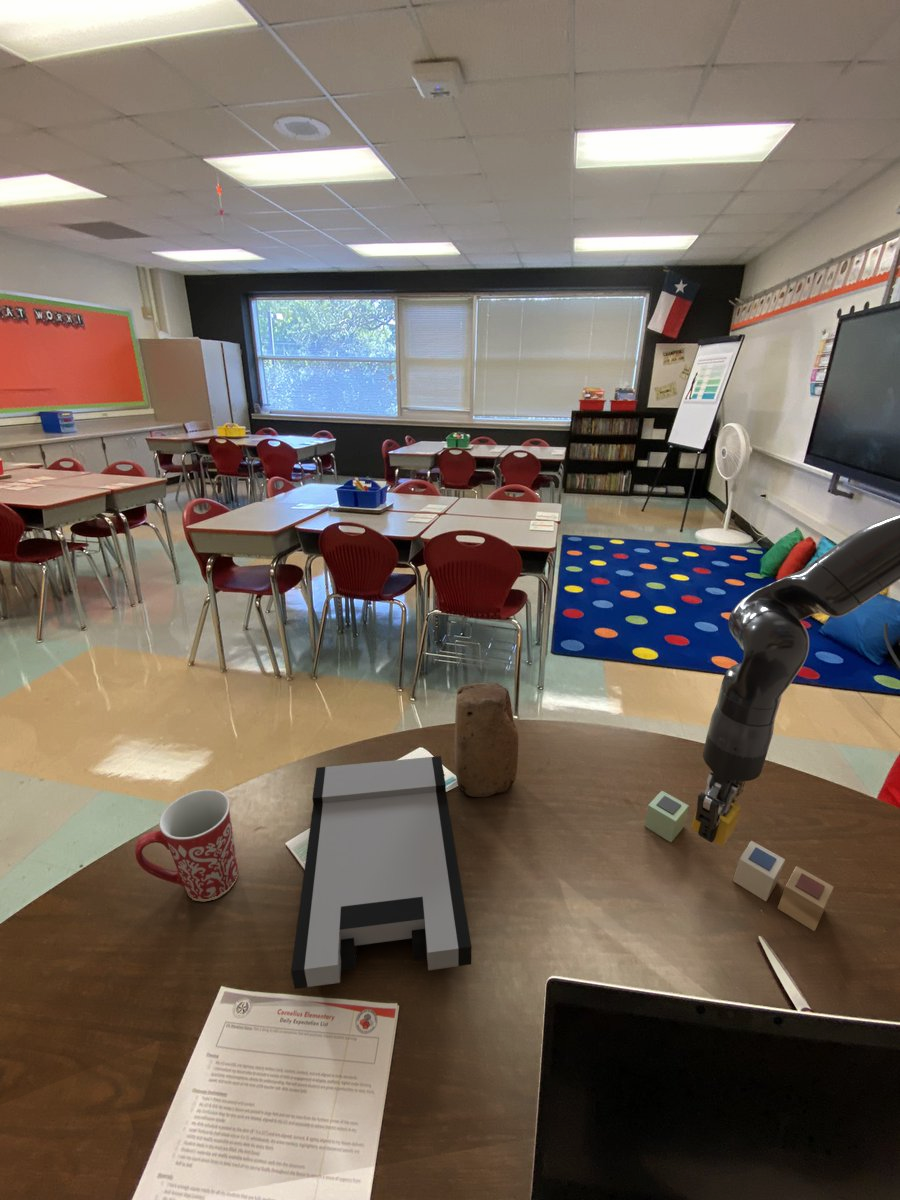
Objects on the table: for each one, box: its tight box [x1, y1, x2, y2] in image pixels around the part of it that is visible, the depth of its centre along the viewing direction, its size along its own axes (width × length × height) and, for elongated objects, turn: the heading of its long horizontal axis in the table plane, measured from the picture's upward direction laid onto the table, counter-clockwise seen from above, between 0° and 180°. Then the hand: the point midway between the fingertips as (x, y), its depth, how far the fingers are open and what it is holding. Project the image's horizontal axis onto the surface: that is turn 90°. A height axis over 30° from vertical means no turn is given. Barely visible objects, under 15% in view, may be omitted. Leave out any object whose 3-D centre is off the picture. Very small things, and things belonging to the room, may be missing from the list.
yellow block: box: [691, 799, 742, 847], centre depth 81 cm, size 5×5×5 cm
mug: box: [134, 788, 239, 899], centre depth 76 cm, size 13×9×14 cm
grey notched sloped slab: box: [290, 755, 473, 990], centre depth 78 cm, size 21×32×8 cm, turn 7°
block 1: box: [453, 682, 519, 798], centre depth 93 cm, size 11×8×20 cm
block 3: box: [732, 840, 786, 902], centre depth 78 cm, size 5×5×5 cm
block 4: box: [777, 865, 835, 932], centre depth 74 cm, size 5×5×5 cm
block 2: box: [644, 790, 690, 843], centre depth 87 cm, size 5×5×5 cm
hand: (713, 827), depth 81 cm, fingers closed on yellow block, 4 cm apart
